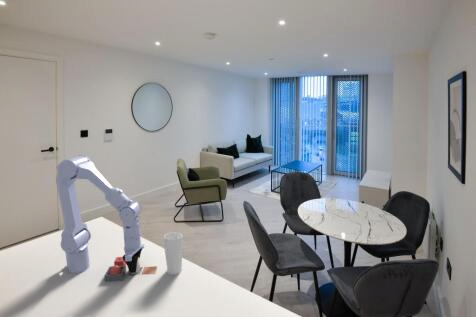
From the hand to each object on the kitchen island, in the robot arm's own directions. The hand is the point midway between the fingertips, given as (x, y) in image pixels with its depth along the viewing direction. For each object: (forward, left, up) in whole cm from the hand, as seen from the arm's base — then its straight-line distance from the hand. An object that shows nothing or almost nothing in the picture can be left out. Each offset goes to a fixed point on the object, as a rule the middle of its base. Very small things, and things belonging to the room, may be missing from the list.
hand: (134, 268), depth 112 cm
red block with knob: (-6, -3, -1) cm, 7 cm away
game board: (0, 0, -2) cm, 2 cm away
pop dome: (-1, -6, 0) cm, 7 cm away
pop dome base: (-1, -6, -1) cm, 7 cm away
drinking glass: (+10, +11, -2) cm, 15 cm away
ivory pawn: (0, 0, -1) cm, 1 cm away
